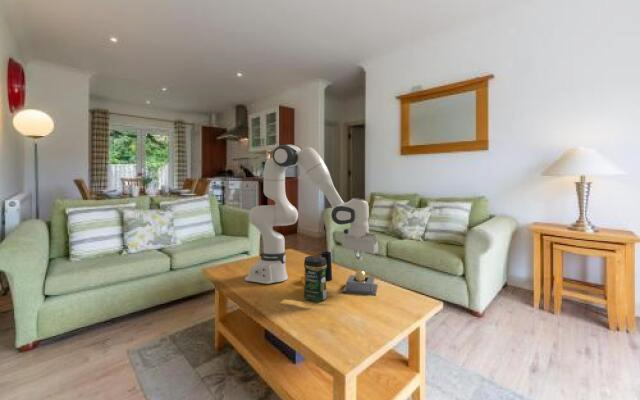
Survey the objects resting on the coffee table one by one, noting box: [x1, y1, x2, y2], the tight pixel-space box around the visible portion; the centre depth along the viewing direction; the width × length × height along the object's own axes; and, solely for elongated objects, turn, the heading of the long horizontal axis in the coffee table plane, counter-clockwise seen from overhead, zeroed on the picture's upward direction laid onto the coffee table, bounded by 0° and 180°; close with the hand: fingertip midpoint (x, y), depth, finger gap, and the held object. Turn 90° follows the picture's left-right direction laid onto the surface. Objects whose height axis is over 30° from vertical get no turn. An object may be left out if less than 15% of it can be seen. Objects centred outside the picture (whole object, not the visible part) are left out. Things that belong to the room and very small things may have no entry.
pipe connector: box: [321, 251, 333, 282], centre depth 148 cm, size 12×5×15 cm, turn 120°
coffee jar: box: [303, 255, 328, 303], centre depth 124 cm, size 10×8×19 cm
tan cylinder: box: [355, 269, 366, 281], centre depth 135 cm, size 4×4×8 cm
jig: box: [342, 274, 378, 296], centre depth 136 cm, size 15×14×5 cm
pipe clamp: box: [300, 269, 305, 287], centre depth 143 cm, size 12×4×6 cm, turn 22°
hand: (359, 259), depth 139 cm, fingers closed
